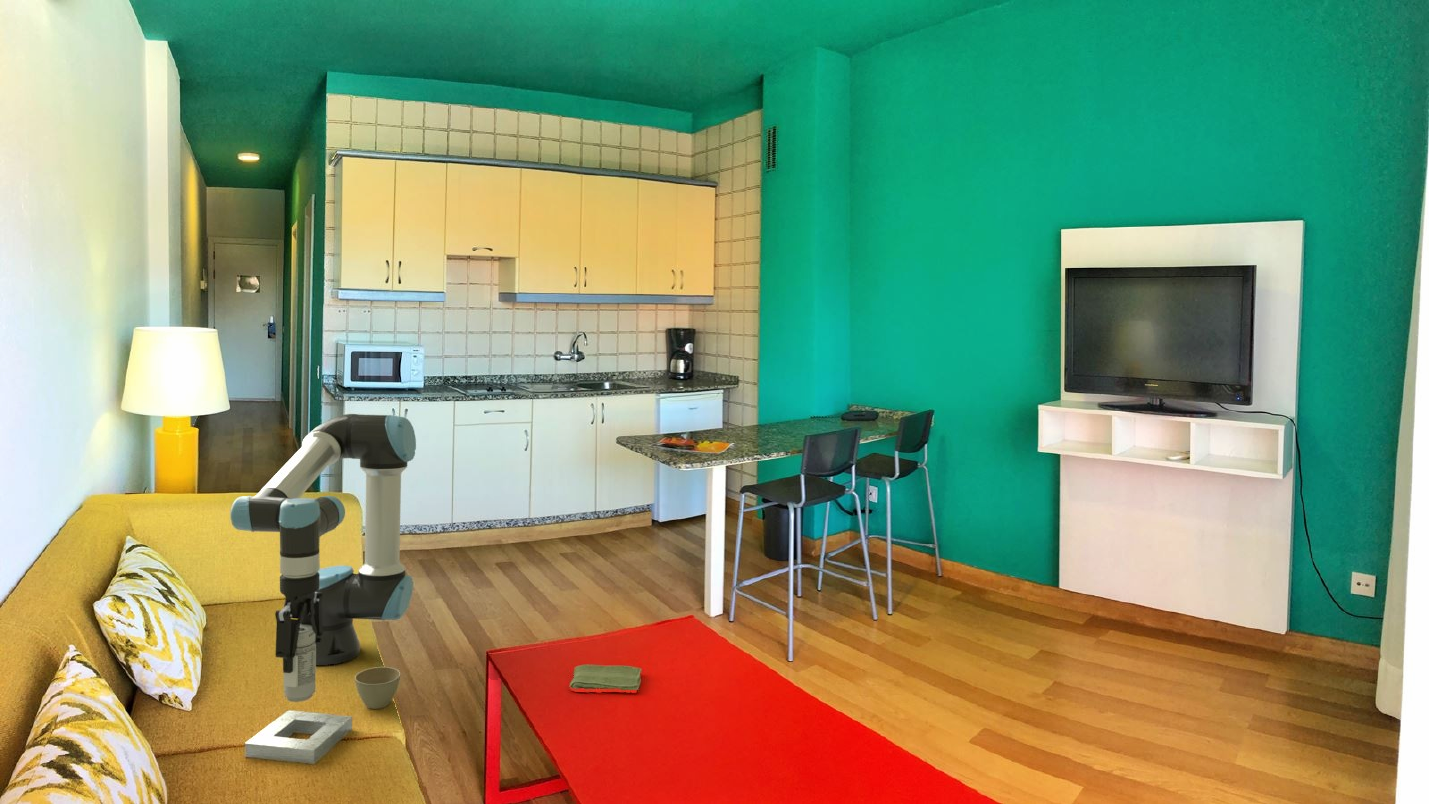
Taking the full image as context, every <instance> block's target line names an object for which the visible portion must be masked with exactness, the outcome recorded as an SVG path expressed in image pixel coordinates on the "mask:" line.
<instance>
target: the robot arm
mask: <svg viewBox="0 0 1429 804" xmlns="http://www.w3.org/2000/svg"><path fill="white" fill-rule="evenodd" d="M416 443H417V439H416V435H415V429H414V426H413V425H412V423H411V421H410V420H409V419H408V418H406V417H404V416H398V415H392V414H390V415H389V414H360V413H358V414H357V413H347V414H341V415H337V416H335V417H332V418H331V419H328V420H326V421H325V422H323V423H321V424H319V425H318V426H316V427H315V428H313V430H311V431H309V432H308V434H307V435H305V437H304V438H303V440H302V443H301V447H300V448H299V449H298V450H297V451H296V452H295V453H294V454H293V456H292V457H291V458H290V459H289V460H288V461H287V462H285V464H284V465H283V466H282V467H281V468H280V469H279V470H278V471H277V473H275V475H273V477H272V478H271V479H270V480H269V481H268V482H267V483H266V484H265V485H264V486H263V487H262V488H261V489H260V490H259V492H258V493H256V495H254V496H253V495H252V496H251V495H247V496H243V495H242V496H239V497H237V498H236V499H235V500H234V501H233V503H232V505H231V508H230V516H229V517H230V522H231V525H232V527H233V528H235V530H239V531H248V532H251V533H254V532H260V533H262V532H264V533H266V532H267V533H279V572H280V574H281V575H280V576H279V592H280V593H281V595H283V596H284V597H285V598H284V599H285V600H284V604H283V608H282V609H281V610H280V609H278V610H275V614H274V616H275V620H276V621H275V622H276V631H275V632H276V633H275V658H281V659H282V672H283V676H282V677H283V687H284V686H288V687H297V686H298V656H296V655H295V652H296V646H297V640H298V634H299V628H300V625H301V624H306V625H311V626H312V630H313V631H314V633H315V674H316V673H317V666H316V665H325V666H331V665H330V664H334V665H338V663H339V664H342V663H341V662H343V663H345V661H346V662H348V661H351V660H352V659H355V658H357V656H358V655H359V654H360V652H361V650H360V649H361V646H360V645H361V644H360V640H359V638H358V634H357V632H356V629H355V627H354V622H353V621H354V620H376V621H378V620H379V621H382V622H384V621H397V620H399V619H401V618H402V617H403V616H404V615H405V614H406V612H407V610H408V608H409V605H410V603H411V599H412V595H413V590H414V589H413V588H414V581H413V580H414V579H413V577H412V576H411V575H408V574H406V566H405V565H404V564H402V563H401V561H400V555H401V554H400V553H401V552H400V548H401V547H400V545H401V502H402V501H401V498H402V497H401V494H402V493H401V490H402V474H403V472H404V471H405V470H406V469H407V468H408V463H409V462H411V461H413V459H414V457H415V454H416V449H417V444H416ZM343 459H352V460H353V459H354V460H359V468H360V469H361V470H362V471H363V472H364V473H365V474H366V475H365V517H364V518H365V527H364V531H365V532H364V535H365V536H364V563H363V564H362V566H360V567H359V568H358V573H354V572H355V571H354V568H353V567H352V566H350V565H345V564H344V565H343V564H342V565H333V566H328V567H323V568H321V567H320V566H321V565H320V564H321V563H320V561H321V559H320V539H321V537H322V536H323V535H325V534H327V533H329V532H331V531H334V530H335V529H336V528H337V527H339V525H340V524H342V523H343V521H344V519H345V517H346V508H345V506H344V504H343V502H342V501H341V500H340V499H339V498H337V497H335V496H332V495H324V496H320V497H317V498H316V499H315V498H311V497H302V496H303V495H304V493H305V492H306V491H307V490H308V489H309V488H310V486H311V485H312V484H313V483H314V482H315V481H316V480H317V479H318V477H319V476H320V475H321V474H322V473H323V471H324V470H325V469H327V467H329V466H332V465H334V464H335V463H337V462H338V461H339V460H343ZM353 619H354V620H353ZM328 664H329V665H328Z"/></svg>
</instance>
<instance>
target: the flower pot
mask: <svg viewBox="0 0 1429 804" xmlns="http://www.w3.org/2000/svg"><path fill="white" fill-rule="evenodd" d="M401 674H402V673H401V672H400V670H399V669H397V668H394V667H390V666H389V667H388V666H377V667H369V668H367V669H363V670H361V671H358V673H356V675H355V676H354V681H355V687H356V691H357V693H358V696H359V697H360V699H361V701H362V703H363V704H364V705H365V707H366V708H367V709H372V710H378V709H382V708H385V707H388V705H389V704H390V703H391V701H392V700H393V697H394V696H395V694H396V692H397V689H398V686H399V684H400V679H401Z"/></svg>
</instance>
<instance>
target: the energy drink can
mask: <svg viewBox="0 0 1429 804" xmlns="http://www.w3.org/2000/svg"><path fill="white" fill-rule="evenodd" d="M295 655H296V656H298V686H297V687H288V686H283V696H284V697H285V698H286V700H287V701H288V702H293V703H297V702H305V701H307V700H310V699H311V698H312V697H313V696H314V694H315V692H316V673H315V633H314V631H313V630H312V626H311V625H306V624H300V628H299V634H298V640H297V646H296V652H295Z"/></svg>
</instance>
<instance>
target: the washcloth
mask: <svg viewBox="0 0 1429 804" xmlns="http://www.w3.org/2000/svg"><path fill="white" fill-rule="evenodd" d="M642 669H643V668H640V667H636V666H630V665H629V666H628V665H598V664H582V665H577V666H575V667H574V670H573V675H574V676H572V678H573V677H574V678H573V679H571V681H570V683H569V687H572V688H574V689H578V688H579V689H581V688H584V689H596V688H597V689H599V688H600V689H621V690H638V691H639V688H640V685H641V682H642V679H641V675H640V673H641V674H642Z"/></svg>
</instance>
